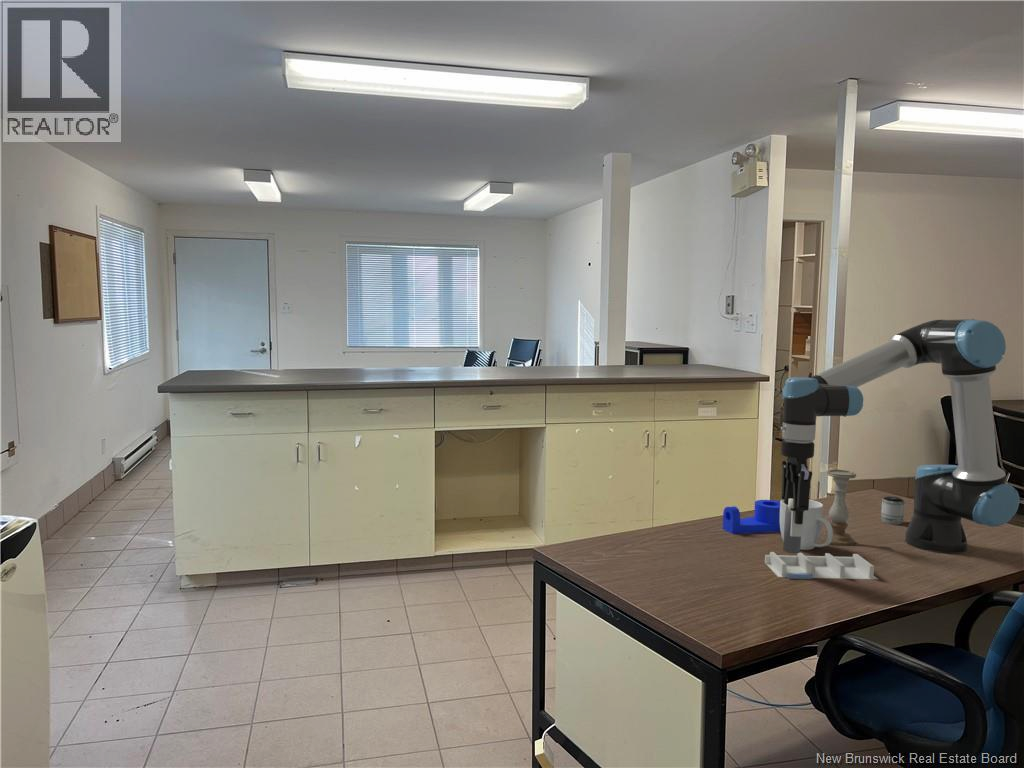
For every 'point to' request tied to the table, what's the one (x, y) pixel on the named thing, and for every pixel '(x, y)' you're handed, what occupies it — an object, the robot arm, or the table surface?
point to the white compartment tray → (819, 566)
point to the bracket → (754, 518)
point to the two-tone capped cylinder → (789, 542)
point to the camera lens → (892, 510)
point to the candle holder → (840, 509)
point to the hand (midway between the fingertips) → (792, 533)
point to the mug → (810, 525)
